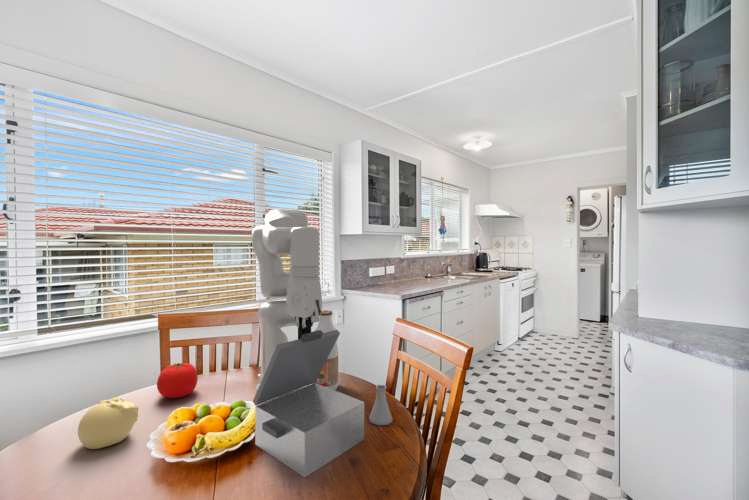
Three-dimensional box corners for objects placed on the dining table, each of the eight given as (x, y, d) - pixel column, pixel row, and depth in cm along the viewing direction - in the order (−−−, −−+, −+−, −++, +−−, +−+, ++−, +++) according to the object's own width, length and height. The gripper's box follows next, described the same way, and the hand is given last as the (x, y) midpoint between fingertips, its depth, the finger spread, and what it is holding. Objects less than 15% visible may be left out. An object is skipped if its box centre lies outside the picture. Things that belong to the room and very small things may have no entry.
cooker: (246, 448, 87) (246, 409, 87) (320, 412, 106) (320, 380, 106) (295, 483, 74) (295, 437, 74) (369, 435, 93) (370, 398, 93)
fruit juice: (340, 392, 122) (340, 313, 121) (313, 394, 119) (313, 314, 119) (336, 381, 131) (336, 308, 130) (311, 384, 128) (311, 309, 128)
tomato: (199, 386, 126) (199, 356, 126) (194, 400, 114) (194, 367, 114) (162, 390, 122) (162, 359, 122) (153, 406, 110) (153, 372, 110)
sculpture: (145, 433, 94) (145, 394, 94) (98, 459, 83) (98, 414, 83) (116, 426, 98) (116, 388, 98) (67, 449, 86) (67, 407, 86)
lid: (255, 405, 89) (249, 395, 91) (314, 382, 104) (308, 374, 106) (282, 344, 81) (275, 334, 83) (342, 328, 97) (335, 320, 98)
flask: (391, 427, 98) (391, 392, 98) (366, 425, 99) (366, 390, 99) (394, 415, 105) (394, 382, 105) (371, 413, 106) (371, 381, 106)
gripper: (276, 272, 93) (276, 339, 93) (311, 275, 84) (311, 350, 84) (298, 271, 99) (298, 334, 99) (334, 273, 90) (334, 343, 90)
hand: (304, 341), depth 92 cm, fingers closed
